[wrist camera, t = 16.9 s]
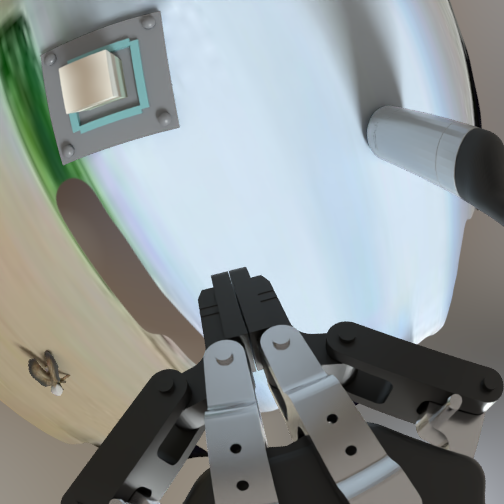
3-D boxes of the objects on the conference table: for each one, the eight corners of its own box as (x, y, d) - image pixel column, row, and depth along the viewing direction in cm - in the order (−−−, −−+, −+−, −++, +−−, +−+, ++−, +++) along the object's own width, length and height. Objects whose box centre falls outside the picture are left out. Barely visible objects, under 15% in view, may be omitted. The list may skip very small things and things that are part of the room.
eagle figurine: (61, 365, 50) (44, 343, 45) (77, 383, 48) (58, 361, 42) (42, 384, 45) (22, 363, 40) (56, 403, 42) (35, 384, 37)
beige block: (121, 60, 24) (105, 49, 17) (127, 97, 27) (112, 96, 20) (83, 73, 23) (58, 68, 17) (90, 110, 26) (66, 114, 19)
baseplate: (160, 14, 23) (159, 9, 21) (179, 126, 32) (179, 128, 30) (45, 56, 21) (38, 54, 19) (66, 162, 29) (60, 166, 28)
